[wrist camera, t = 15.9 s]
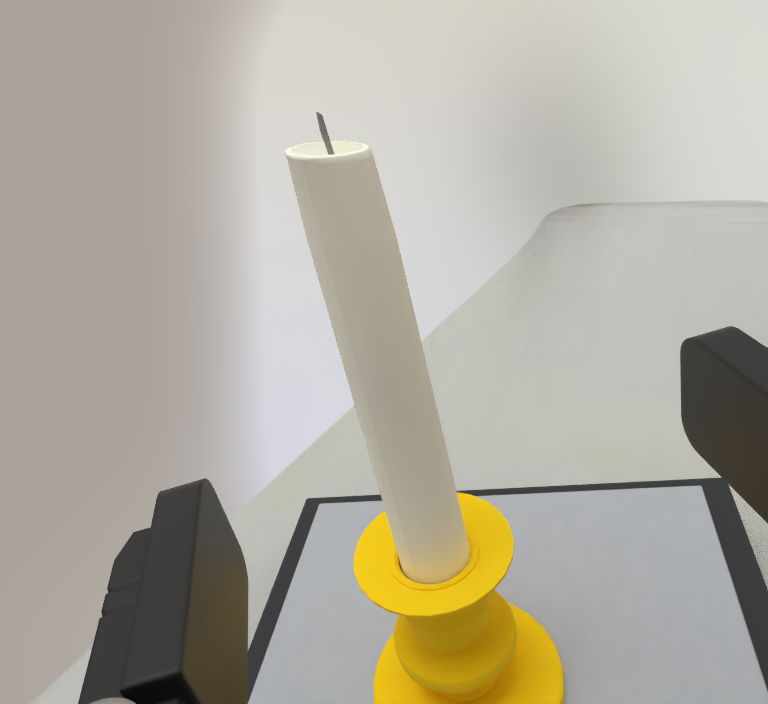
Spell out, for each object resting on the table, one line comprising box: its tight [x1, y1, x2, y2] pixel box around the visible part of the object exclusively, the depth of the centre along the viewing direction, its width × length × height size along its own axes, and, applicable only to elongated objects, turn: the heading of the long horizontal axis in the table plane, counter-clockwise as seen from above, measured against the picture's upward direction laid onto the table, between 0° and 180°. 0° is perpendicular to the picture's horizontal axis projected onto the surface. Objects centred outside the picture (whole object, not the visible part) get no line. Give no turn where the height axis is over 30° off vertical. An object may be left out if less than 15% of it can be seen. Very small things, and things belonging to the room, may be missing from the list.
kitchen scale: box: [247, 478, 768, 704], centre depth 20 cm, size 16×16×3 cm
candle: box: [285, 112, 564, 704], centre depth 15 cm, size 5×5×16 cm
